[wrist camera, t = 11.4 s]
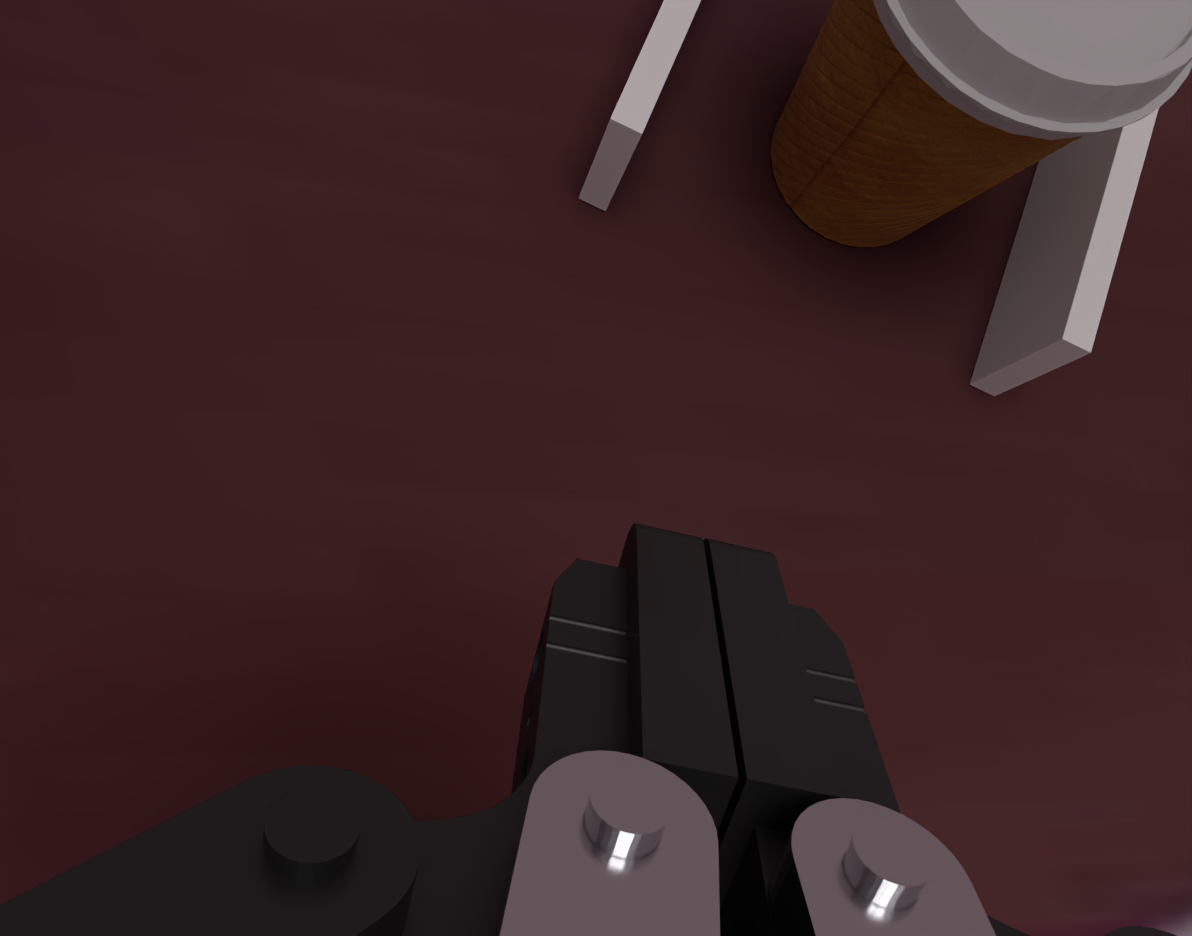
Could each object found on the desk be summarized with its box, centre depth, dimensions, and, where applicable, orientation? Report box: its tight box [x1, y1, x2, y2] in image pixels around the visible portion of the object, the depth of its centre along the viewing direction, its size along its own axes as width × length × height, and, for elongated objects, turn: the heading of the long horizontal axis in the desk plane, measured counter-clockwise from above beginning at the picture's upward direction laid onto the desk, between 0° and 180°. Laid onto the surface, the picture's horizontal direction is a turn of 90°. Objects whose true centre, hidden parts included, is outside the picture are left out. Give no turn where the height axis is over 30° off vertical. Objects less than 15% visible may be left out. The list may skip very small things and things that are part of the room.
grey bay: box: [579, 0, 1159, 396], centre depth 34 cm, size 16×15×5 cm
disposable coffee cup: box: [771, 0, 1192, 247], centre depth 30 cm, size 10×10×12 cm
